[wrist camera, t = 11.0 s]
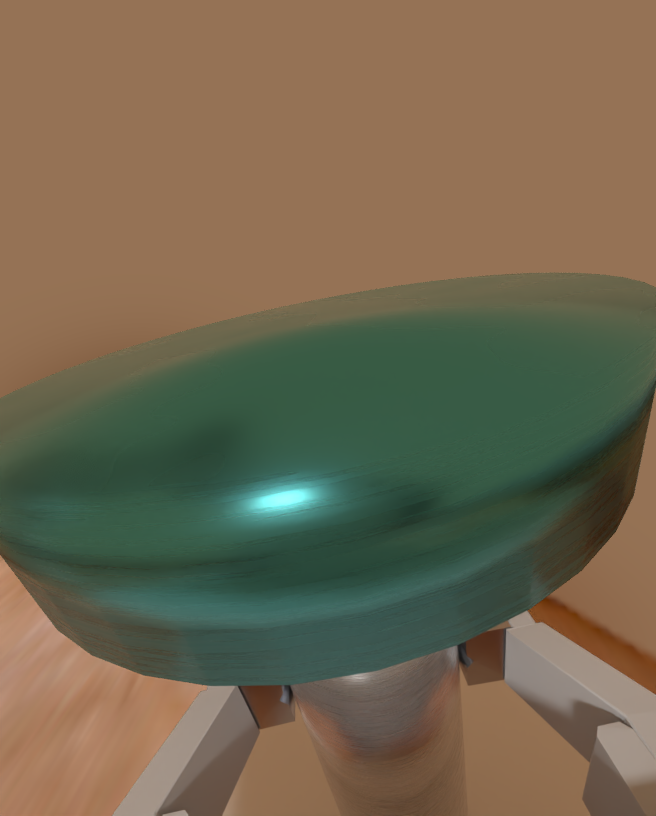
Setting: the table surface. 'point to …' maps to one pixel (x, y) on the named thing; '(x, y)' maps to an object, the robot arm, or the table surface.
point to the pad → (484, 764)
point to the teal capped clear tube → (336, 500)
